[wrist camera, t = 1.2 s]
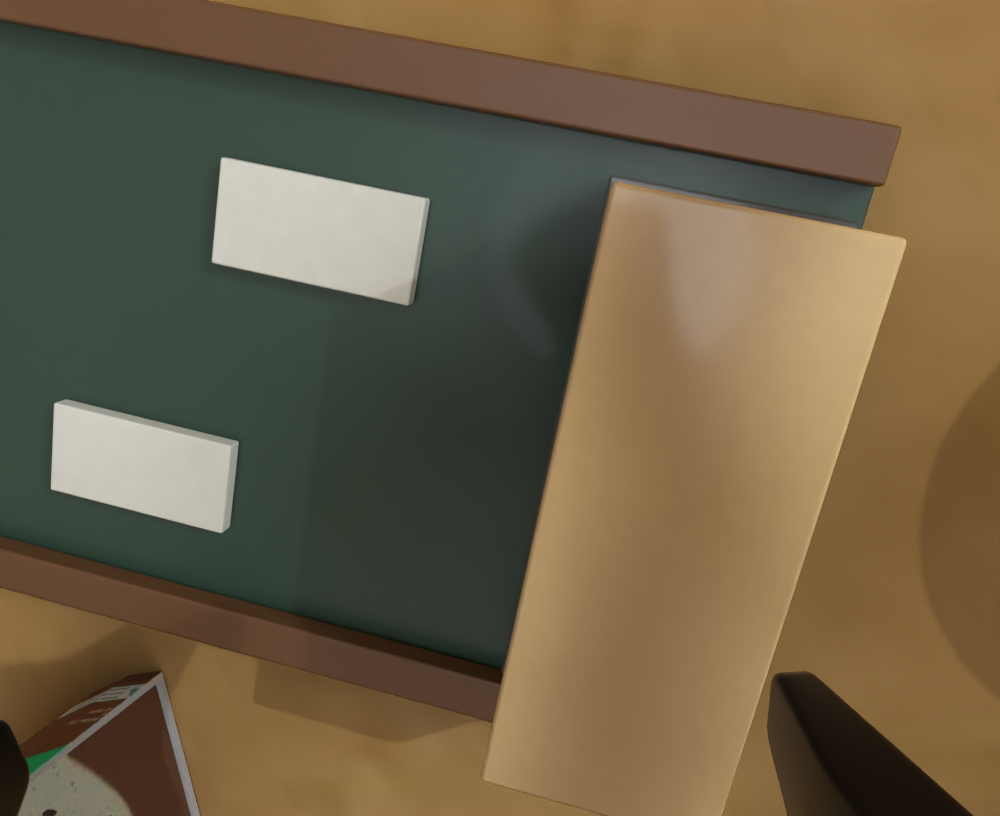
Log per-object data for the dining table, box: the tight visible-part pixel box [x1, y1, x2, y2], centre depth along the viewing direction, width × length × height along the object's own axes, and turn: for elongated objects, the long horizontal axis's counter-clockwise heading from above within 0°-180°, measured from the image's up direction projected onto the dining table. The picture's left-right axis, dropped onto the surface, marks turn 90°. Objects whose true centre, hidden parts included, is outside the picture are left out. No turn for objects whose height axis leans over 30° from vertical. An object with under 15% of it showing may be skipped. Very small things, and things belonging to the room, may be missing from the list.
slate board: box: [0, 0, 901, 722], centre depth 20 cm, size 22×16×2 cm
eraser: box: [481, 175, 906, 816], centre depth 17 cm, size 5×12×6 cm, turn 169°
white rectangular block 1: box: [51, 399, 239, 533], centre depth 21 cm, size 5×2×1 cm, turn 79°
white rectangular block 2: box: [212, 157, 430, 306], centre depth 19 cm, size 5×2×1 cm, turn 79°
